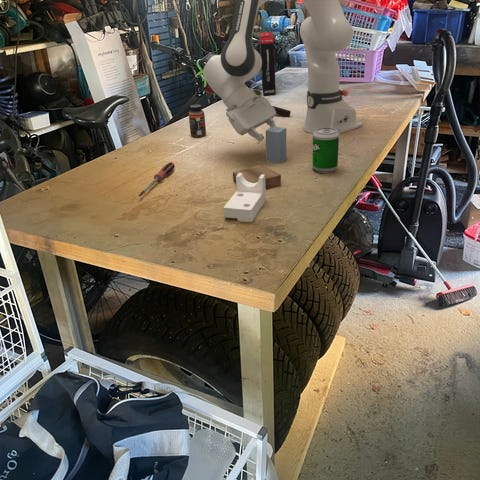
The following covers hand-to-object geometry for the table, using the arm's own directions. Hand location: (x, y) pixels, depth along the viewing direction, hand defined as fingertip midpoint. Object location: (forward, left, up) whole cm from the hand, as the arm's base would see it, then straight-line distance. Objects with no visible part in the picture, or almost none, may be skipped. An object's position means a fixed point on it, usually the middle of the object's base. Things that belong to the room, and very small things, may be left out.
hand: (269, 136), depth 150 cm
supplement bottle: (+8, -39, -8) cm, 40 cm away
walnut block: (+14, +15, -8) cm, 22 cm away
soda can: (-8, +18, -8) cm, 21 cm away
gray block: (-1, +2, -8) cm, 8 cm away
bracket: (+25, +28, -8) cm, 39 cm away
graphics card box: (-51, -84, -8) cm, 99 cm away
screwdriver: (+38, -3, -8) cm, 39 cm away
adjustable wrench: (-26, -49, -8) cm, 56 cm away
